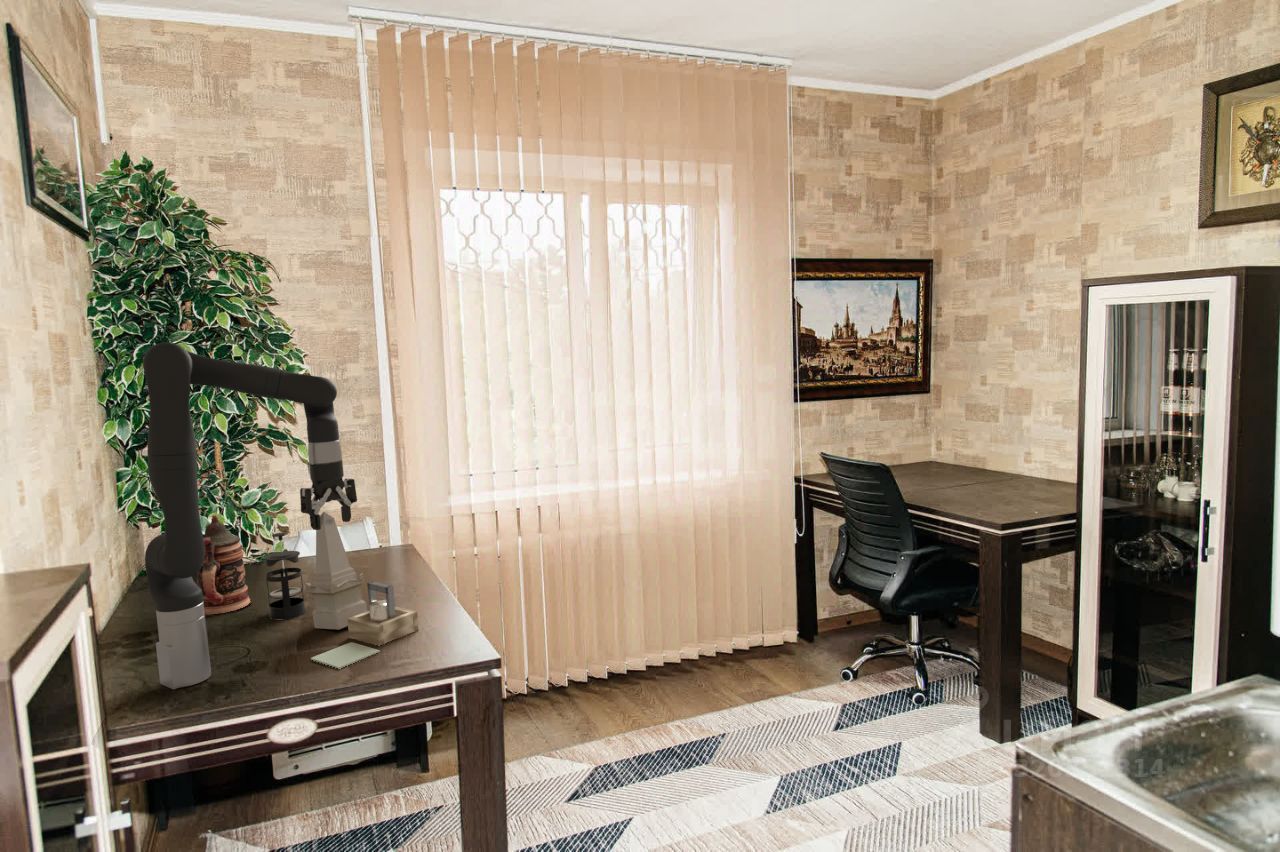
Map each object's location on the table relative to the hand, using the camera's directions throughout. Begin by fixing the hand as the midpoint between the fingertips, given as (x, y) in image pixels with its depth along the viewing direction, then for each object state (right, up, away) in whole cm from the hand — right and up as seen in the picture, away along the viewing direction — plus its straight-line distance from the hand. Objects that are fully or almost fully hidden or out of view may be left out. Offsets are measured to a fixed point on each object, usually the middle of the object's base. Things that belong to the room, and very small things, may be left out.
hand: (331, 525), depth 192 cm
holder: (+10, -29, +9) cm, 32 cm away
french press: (-23, -28, +28) cm, 46 cm away
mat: (+5, -30, -5) cm, 31 cm away
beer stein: (-45, -29, +34) cm, 64 cm away
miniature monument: (-4, -28, +17) cm, 33 cm away
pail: (+10, -29, +9) cm, 32 cm away
